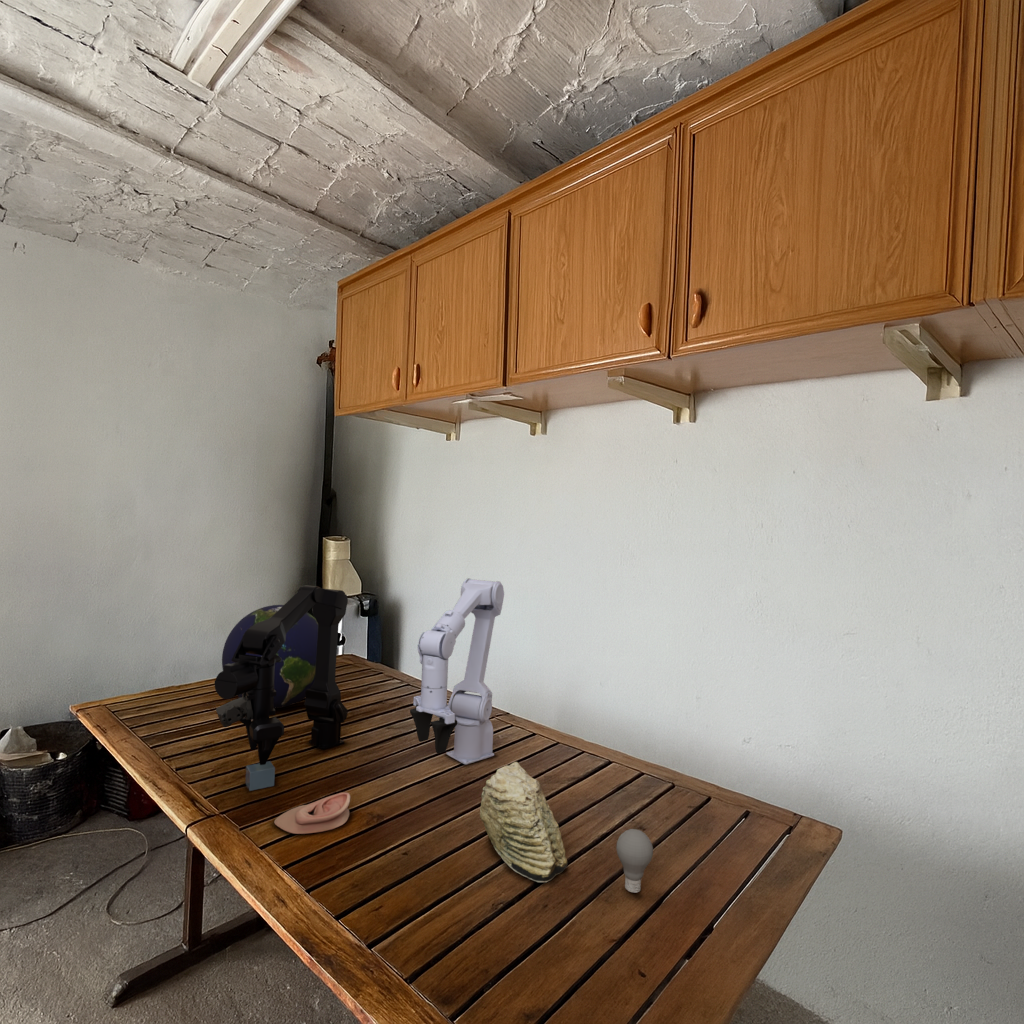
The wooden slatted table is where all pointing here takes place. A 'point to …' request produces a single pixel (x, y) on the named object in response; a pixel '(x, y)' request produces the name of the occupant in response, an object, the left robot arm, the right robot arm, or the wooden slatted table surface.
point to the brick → (260, 776)
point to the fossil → (522, 824)
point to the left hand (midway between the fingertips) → (257, 756)
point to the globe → (283, 655)
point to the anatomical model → (316, 815)
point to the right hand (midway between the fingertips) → (431, 746)
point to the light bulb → (634, 857)
